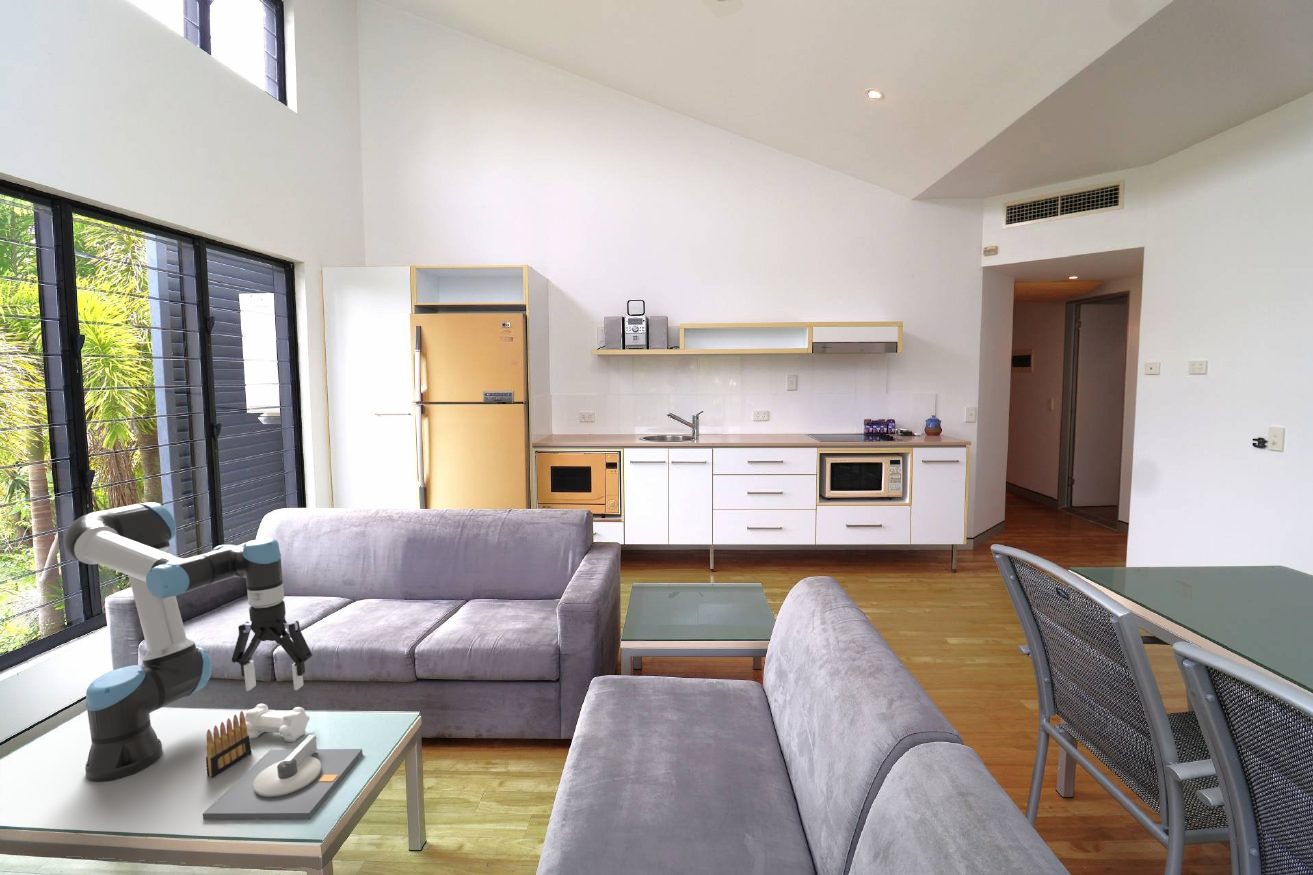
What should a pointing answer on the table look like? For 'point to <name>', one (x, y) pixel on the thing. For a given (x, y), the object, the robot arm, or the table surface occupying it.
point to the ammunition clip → (227, 746)
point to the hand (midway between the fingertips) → (275, 687)
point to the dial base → (295, 805)
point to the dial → (290, 771)
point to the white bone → (276, 722)
